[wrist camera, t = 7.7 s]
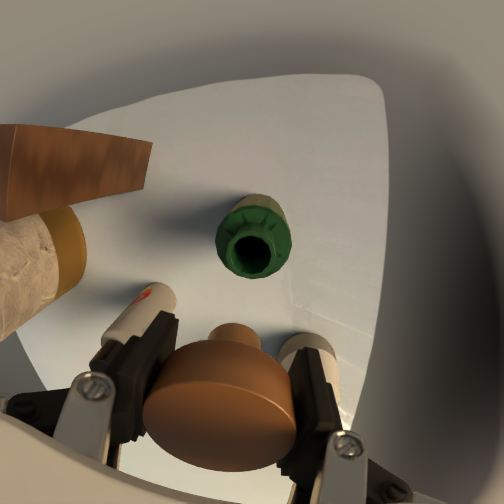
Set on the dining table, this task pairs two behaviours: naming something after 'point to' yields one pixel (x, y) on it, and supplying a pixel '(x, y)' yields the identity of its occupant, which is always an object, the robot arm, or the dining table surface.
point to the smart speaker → (326, 356)
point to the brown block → (64, 168)
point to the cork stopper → (222, 403)
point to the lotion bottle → (133, 323)
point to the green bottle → (254, 238)
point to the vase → (38, 264)
